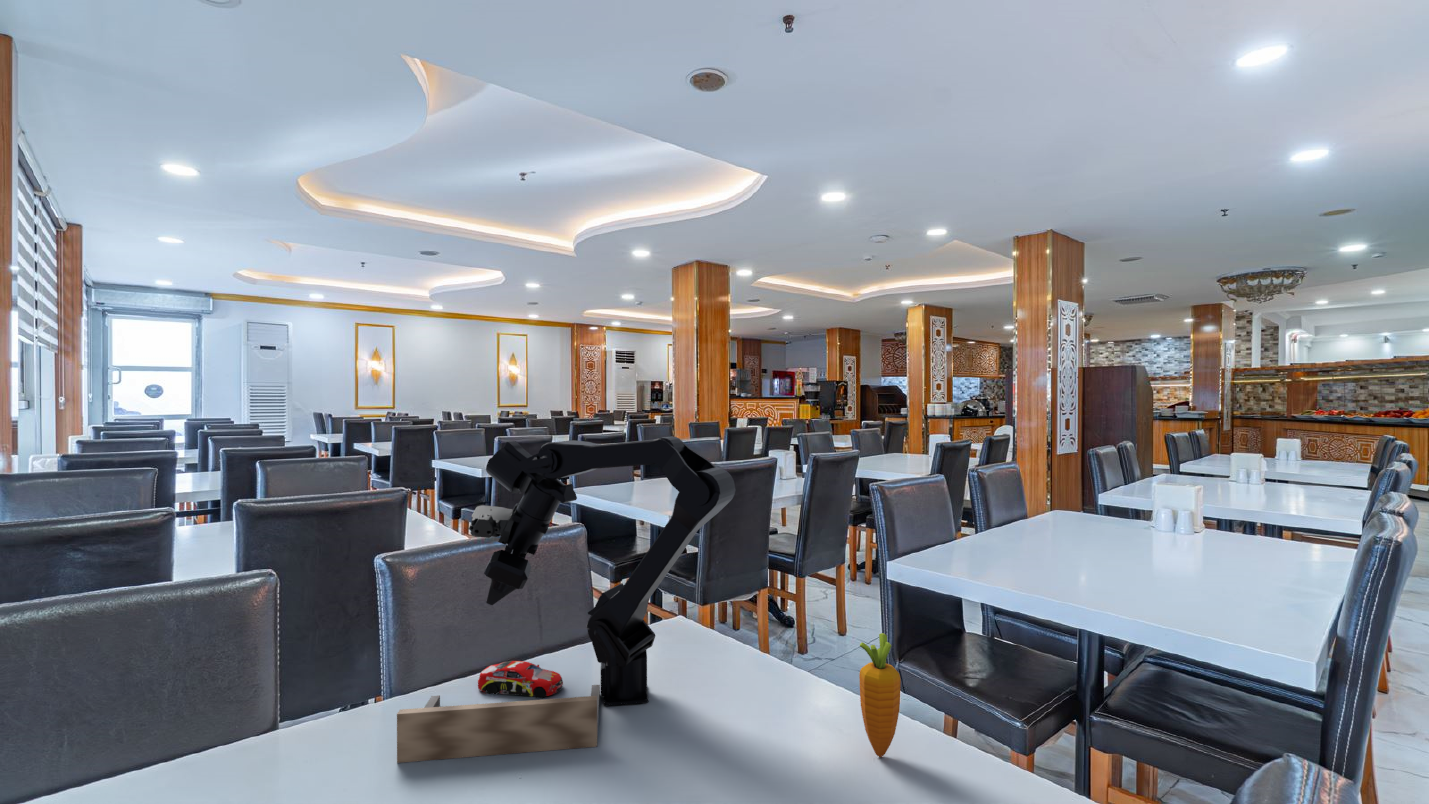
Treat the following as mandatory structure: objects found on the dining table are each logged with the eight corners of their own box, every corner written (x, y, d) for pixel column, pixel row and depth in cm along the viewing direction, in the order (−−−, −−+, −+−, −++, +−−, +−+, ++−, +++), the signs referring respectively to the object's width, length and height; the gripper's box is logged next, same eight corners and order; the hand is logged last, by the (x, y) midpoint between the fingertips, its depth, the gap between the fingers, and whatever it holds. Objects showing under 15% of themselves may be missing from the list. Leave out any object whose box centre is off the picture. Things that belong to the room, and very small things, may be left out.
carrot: (878, 772, 77) (877, 646, 77) (851, 752, 82) (850, 633, 82) (909, 761, 80) (909, 639, 80) (881, 742, 84) (881, 627, 84)
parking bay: (599, 694, 98) (599, 654, 98) (596, 746, 83) (596, 699, 83) (431, 706, 95) (431, 665, 95) (397, 763, 80) (396, 714, 80)
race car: (568, 687, 102) (569, 661, 102) (553, 702, 96) (553, 675, 96) (492, 679, 104) (492, 654, 104) (473, 694, 99) (473, 668, 99)
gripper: (500, 467, 111) (463, 541, 114) (473, 515, 93) (430, 602, 96) (560, 493, 114) (523, 565, 117) (545, 546, 96) (501, 629, 99)
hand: (495, 587), depth 107 cm, fingers open, 9 cm apart
